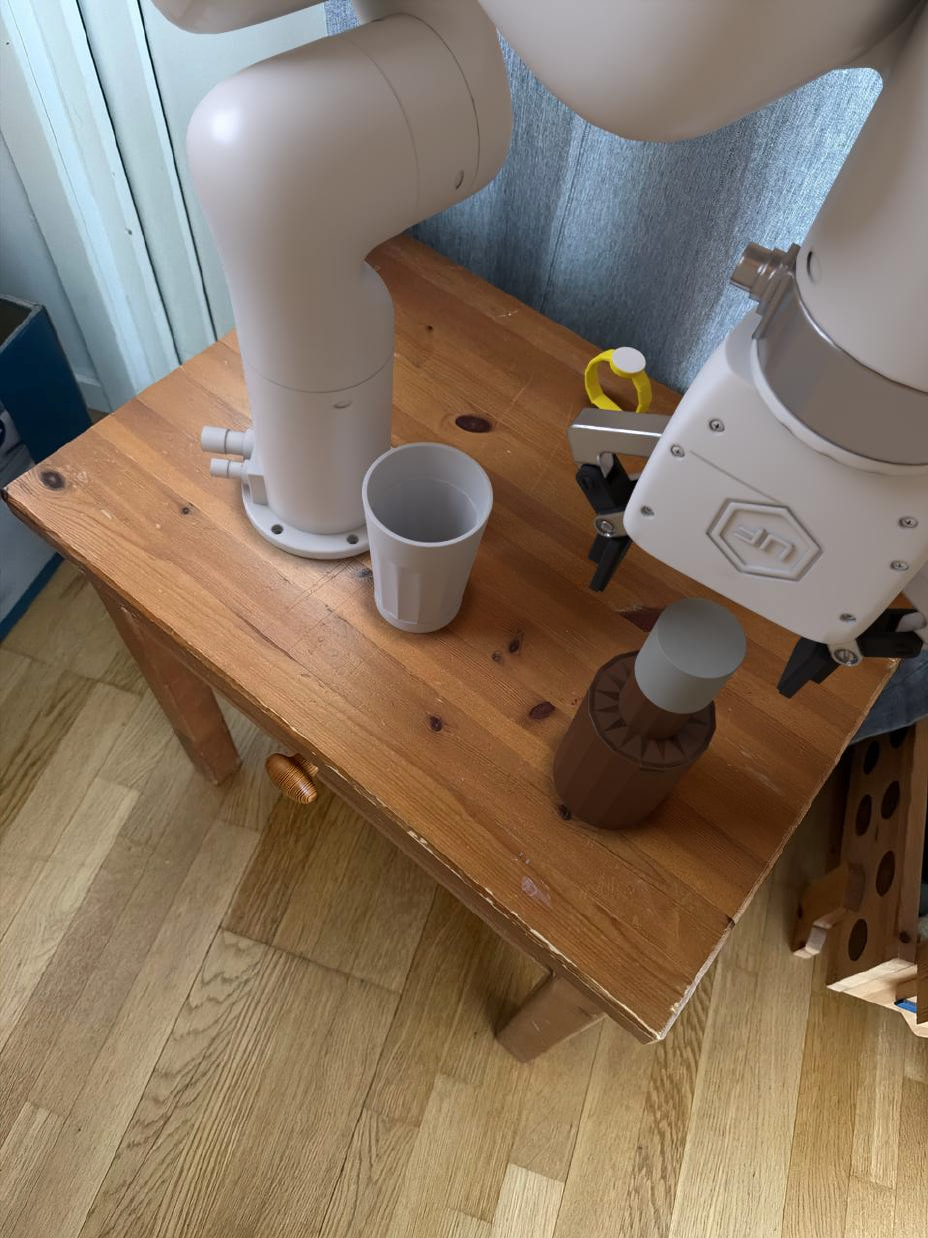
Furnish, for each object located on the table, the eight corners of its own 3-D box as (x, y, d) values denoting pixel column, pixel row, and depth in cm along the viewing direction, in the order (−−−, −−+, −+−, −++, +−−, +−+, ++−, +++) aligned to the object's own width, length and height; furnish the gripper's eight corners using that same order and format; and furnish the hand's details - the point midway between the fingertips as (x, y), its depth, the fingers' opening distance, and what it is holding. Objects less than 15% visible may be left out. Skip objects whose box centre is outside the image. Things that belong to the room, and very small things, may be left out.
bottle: (550, 822, 57) (603, 731, 44) (555, 719, 61) (605, 607, 48) (661, 835, 58) (746, 749, 45) (659, 732, 61) (737, 624, 48)
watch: (572, 397, 76) (587, 344, 71) (593, 382, 77) (610, 328, 72) (625, 439, 74) (644, 388, 69) (646, 423, 75) (667, 371, 70)
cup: (372, 542, 67) (373, 433, 56) (478, 556, 67) (498, 451, 57) (354, 635, 63) (352, 536, 52) (467, 650, 63) (487, 555, 53)
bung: (627, 719, 46) (657, 671, 42) (627, 645, 49) (655, 591, 44) (710, 730, 47) (750, 684, 42) (706, 656, 49) (744, 603, 44)
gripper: (582, 294, 27) (499, 587, 42) (1150, 574, 24) (843, 780, 39) (681, 170, 30) (572, 481, 45) (1187, 401, 27) (893, 652, 42)
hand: (698, 619), depth 42 cm, fingers open, 9 cm apart
